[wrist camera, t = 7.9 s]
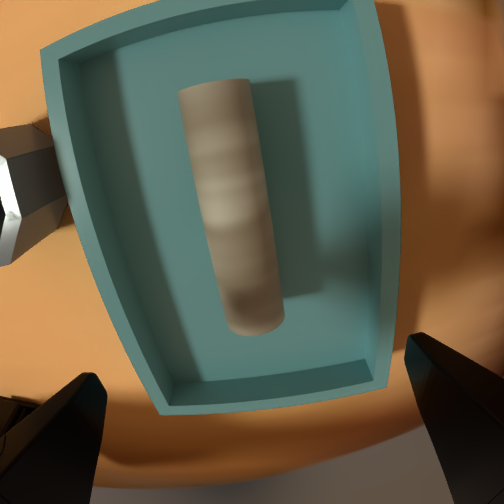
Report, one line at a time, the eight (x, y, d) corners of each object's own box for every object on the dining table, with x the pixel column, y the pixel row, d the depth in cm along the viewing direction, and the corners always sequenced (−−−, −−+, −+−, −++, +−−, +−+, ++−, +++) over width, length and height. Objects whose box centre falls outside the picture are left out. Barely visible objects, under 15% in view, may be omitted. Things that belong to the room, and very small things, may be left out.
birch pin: (290, 339, 12) (267, 94, 6) (230, 350, 12) (157, 115, 6) (270, 256, 16) (244, 65, 10) (223, 264, 16) (178, 77, 10)
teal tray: (373, 356, 17) (386, 387, 14) (168, 383, 17) (160, 415, 15) (348, -1, 10) (367, -21, 7) (71, 56, 10) (40, 50, 8)
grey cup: (81, 222, 13) (35, 258, 10) (9, 242, 14) (-35, 274, 10) (55, 112, 11) (-2, 118, 8) (-16, 149, 12) (-68, 165, 8)
